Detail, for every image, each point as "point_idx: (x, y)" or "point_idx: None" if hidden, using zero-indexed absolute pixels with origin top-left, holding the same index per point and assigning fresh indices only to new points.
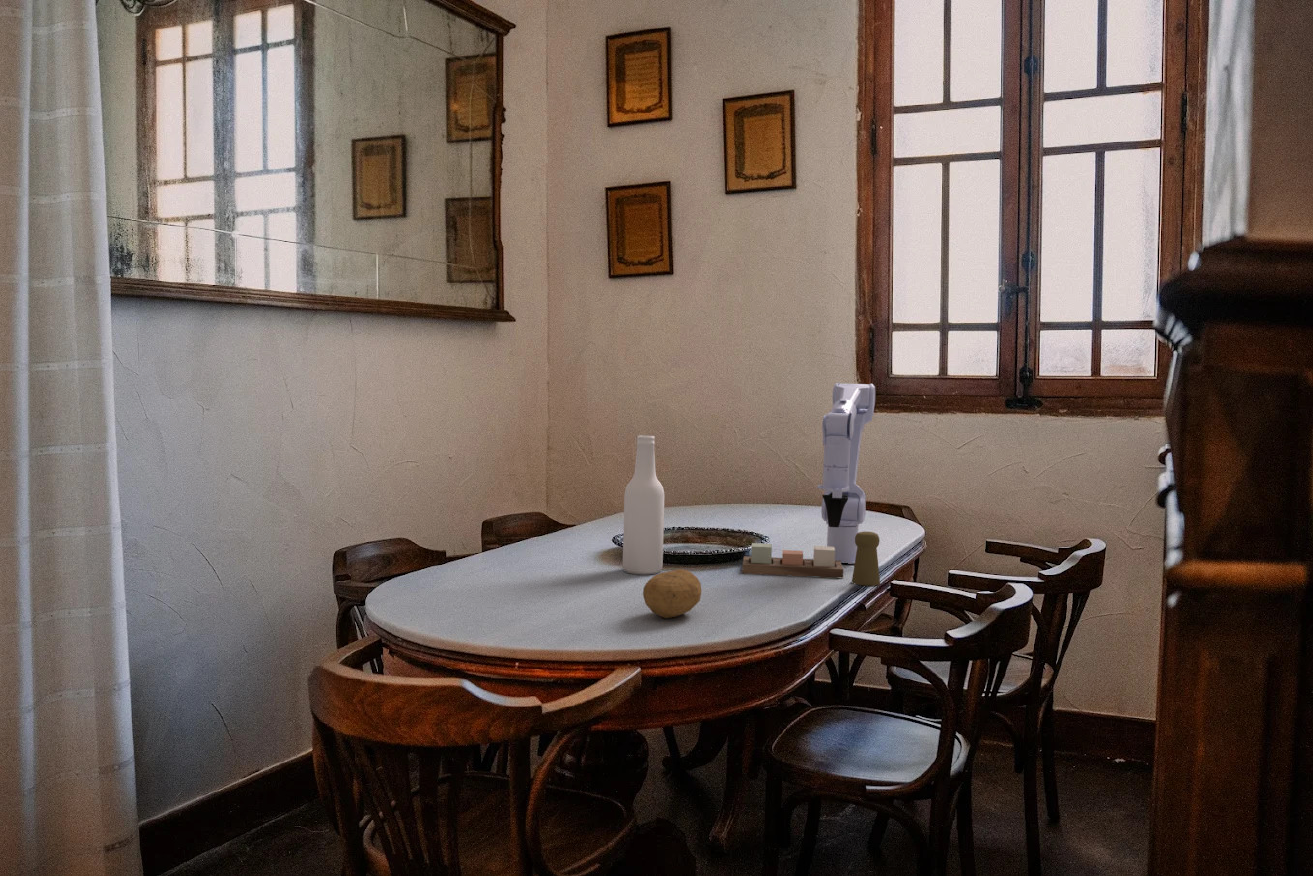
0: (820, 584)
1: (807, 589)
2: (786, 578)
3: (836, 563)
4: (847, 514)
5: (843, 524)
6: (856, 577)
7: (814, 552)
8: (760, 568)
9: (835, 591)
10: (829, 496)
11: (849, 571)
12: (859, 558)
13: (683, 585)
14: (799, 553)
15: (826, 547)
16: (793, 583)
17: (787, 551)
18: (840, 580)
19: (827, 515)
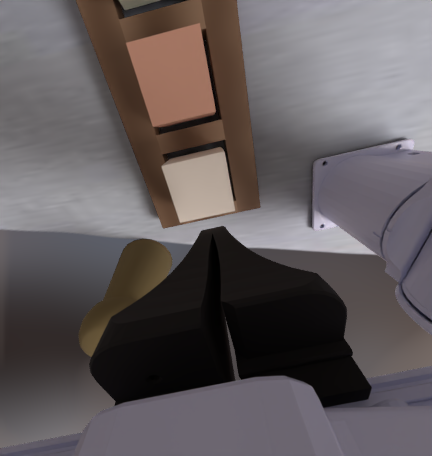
0: (78, 189)
1: (6, 172)
2: (83, 95)
3: None
4: (429, 270)
5: (387, 239)
6: (121, 255)
7: (172, 162)
8: None
9: (38, 226)
10: (106, 388)
11: (242, 220)
12: (109, 284)
13: None
14: (163, 110)
15: (214, 193)
16: (40, 128)
17: (177, 53)
18: (144, 218)
19: (207, 246)
